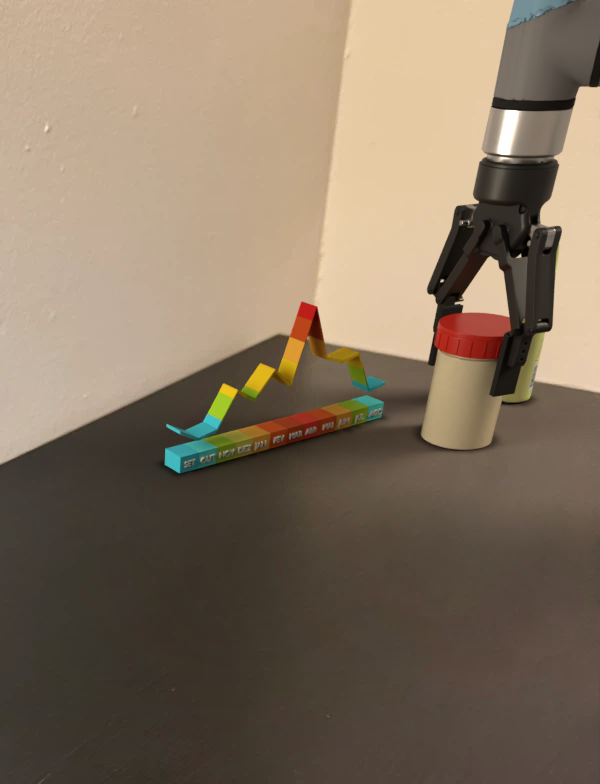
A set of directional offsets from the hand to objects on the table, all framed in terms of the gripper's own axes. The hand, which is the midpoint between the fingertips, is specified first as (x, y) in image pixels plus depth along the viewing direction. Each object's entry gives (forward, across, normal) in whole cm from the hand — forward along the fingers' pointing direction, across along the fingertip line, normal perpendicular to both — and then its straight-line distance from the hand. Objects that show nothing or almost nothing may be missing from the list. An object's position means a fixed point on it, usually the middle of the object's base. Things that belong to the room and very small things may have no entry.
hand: (469, 378), depth 112 cm
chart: (+7, +7, +20) cm, 22 cm away
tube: (+7, +9, -14) cm, 18 cm away
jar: (+7, 0, 0) cm, 7 cm away
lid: (-5, 0, 0) cm, 5 cm away
